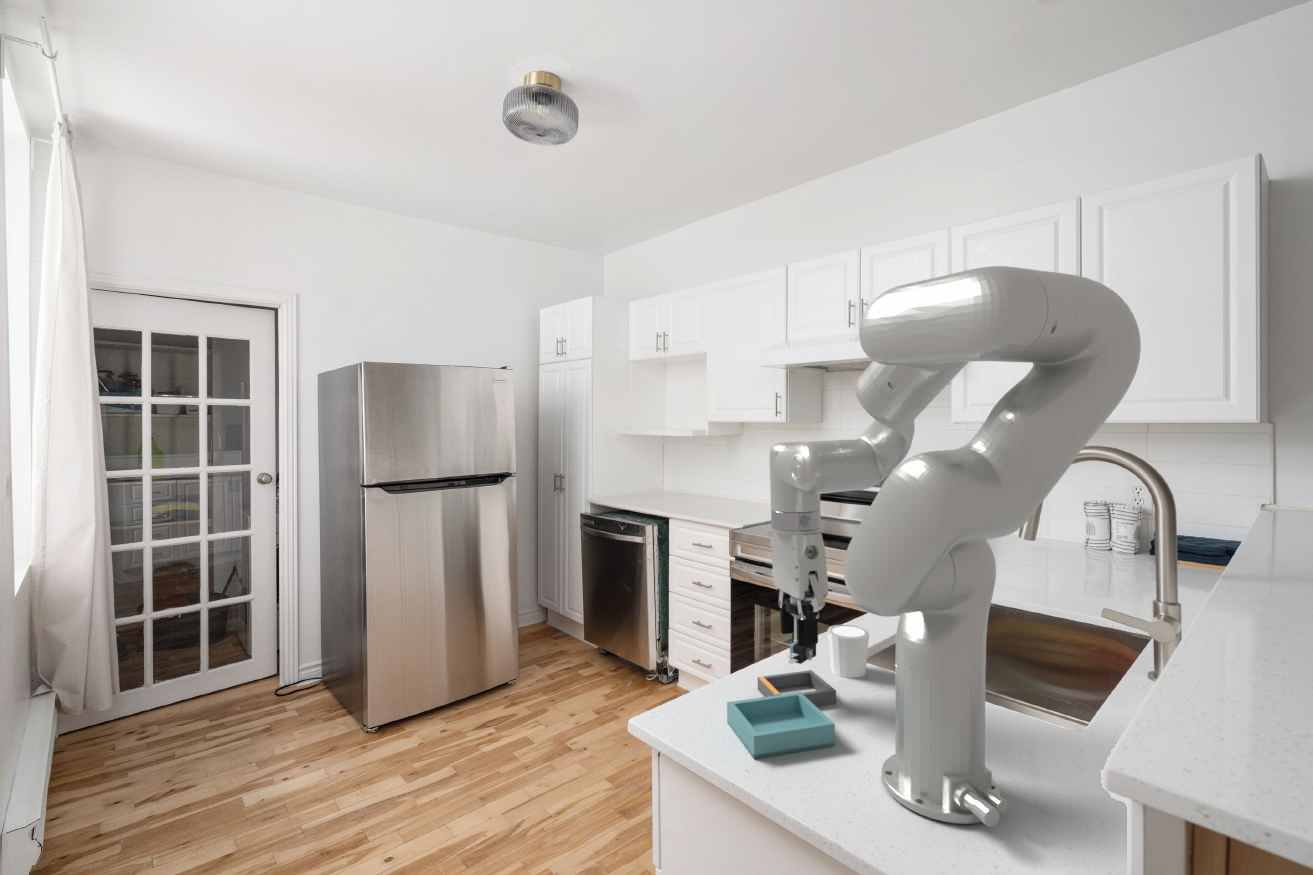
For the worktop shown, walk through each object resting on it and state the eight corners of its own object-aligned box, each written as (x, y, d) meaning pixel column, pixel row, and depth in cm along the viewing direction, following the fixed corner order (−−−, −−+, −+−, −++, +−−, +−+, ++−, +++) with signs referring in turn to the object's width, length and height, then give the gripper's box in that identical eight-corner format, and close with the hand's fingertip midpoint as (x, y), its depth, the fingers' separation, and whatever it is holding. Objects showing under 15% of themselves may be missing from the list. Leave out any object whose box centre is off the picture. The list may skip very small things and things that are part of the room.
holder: (836, 703, 92) (836, 688, 92) (778, 711, 90) (778, 696, 90) (811, 681, 100) (811, 668, 99) (757, 689, 97) (757, 675, 97)
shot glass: (839, 659, 108) (839, 621, 108) (876, 670, 104) (876, 630, 103) (819, 671, 104) (819, 631, 103) (857, 683, 99) (857, 641, 99)
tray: (834, 745, 80) (834, 723, 80) (754, 758, 78) (753, 736, 77) (800, 711, 90) (800, 691, 90) (727, 722, 87) (727, 702, 87)
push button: (805, 671, 89) (805, 604, 89) (774, 661, 93) (773, 597, 92) (825, 657, 94) (825, 594, 94) (794, 649, 98) (794, 588, 97)
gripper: (847, 527, 86) (850, 654, 86) (792, 513, 103) (795, 619, 103) (799, 531, 84) (803, 660, 84) (751, 516, 101) (754, 624, 101)
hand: (798, 637), depth 94 cm, fingers closed on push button, 4 cm apart
